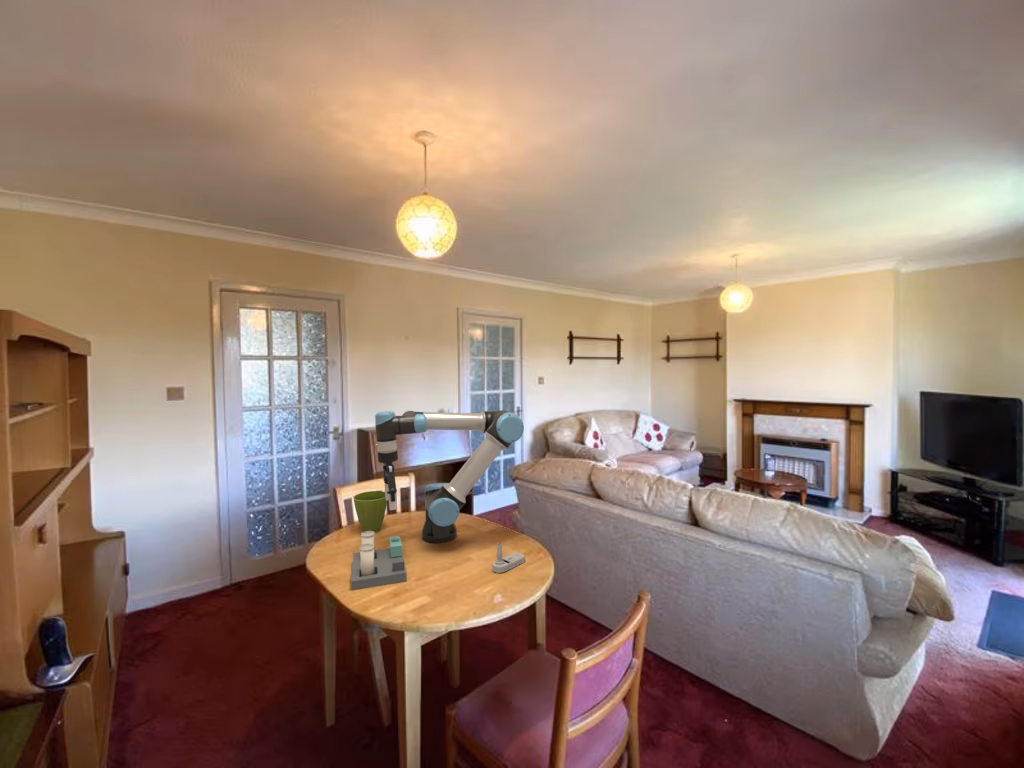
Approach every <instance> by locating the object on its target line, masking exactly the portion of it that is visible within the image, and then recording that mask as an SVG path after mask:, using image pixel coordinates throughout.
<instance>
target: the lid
mask: <svg viewBox="0 0 1024 768" xmlns="http://www.w3.org/2000/svg"><path fill="white" fill-rule="evenodd" d="M389 548H390V554H391V557H398V556H402V552H403V546H402V539H401V536H400V535H398V536H397V535H396V536H389Z"/></svg>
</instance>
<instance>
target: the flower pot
mask: <svg viewBox="0 0 1024 768" xmlns="http://www.w3.org/2000/svg"><path fill="white" fill-rule="evenodd" d="M353 502H354V508H355V512H356V515H357V518H358V522H359V524H360V527H361V529H362V532H365V531H374V533H377V532H379V531H380V530H381V529H382V525H383V522H384V519H385V516H386V511H387V505H388V500H386V498H385V491H382V490H371V491H365V492H360V493H356V494H355V495H353Z"/></svg>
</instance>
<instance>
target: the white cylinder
mask: <svg viewBox="0 0 1024 768" xmlns="http://www.w3.org/2000/svg"><path fill="white" fill-rule="evenodd" d="M360 537H361V545H364V544H373V545H374V546H375V532H374V531H365V532H364V531H362V532H361V533H360ZM375 550H376V549H374V559H375Z"/></svg>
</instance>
